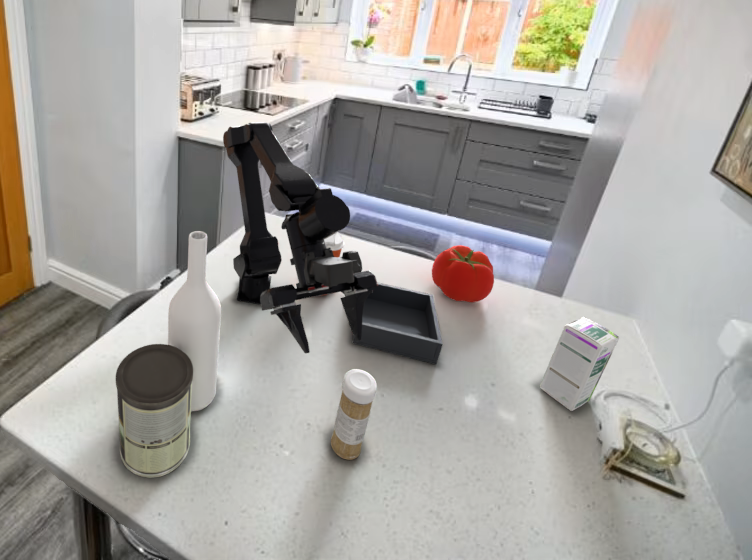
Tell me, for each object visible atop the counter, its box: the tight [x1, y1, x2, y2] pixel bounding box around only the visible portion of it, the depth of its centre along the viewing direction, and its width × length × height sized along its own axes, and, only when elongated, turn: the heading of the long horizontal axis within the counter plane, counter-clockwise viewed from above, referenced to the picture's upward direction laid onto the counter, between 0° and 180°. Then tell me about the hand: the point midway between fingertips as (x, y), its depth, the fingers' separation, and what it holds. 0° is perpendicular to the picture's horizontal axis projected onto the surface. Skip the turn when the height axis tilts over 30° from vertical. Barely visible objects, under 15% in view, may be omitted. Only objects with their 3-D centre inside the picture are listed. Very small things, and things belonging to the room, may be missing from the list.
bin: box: [352, 281, 444, 365], centre depth 90 cm, size 16×16×5 cm
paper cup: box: [308, 232, 345, 297], centre depth 99 cm, size 8×8×14 cm
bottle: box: [167, 230, 222, 412], centre depth 67 cm, size 8×8×30 cm
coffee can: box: [115, 343, 193, 479], centre depth 61 cm, size 10×10×14 cm
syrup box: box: [539, 316, 620, 412], centre depth 75 cm, size 6×6×14 cm
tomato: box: [431, 244, 495, 303], centre depth 102 cm, size 14×13×10 cm
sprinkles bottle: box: [330, 368, 378, 461], centre depth 63 cm, size 5×5×14 cm
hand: (333, 346), depth 67 cm, fingers open, 9 cm apart
